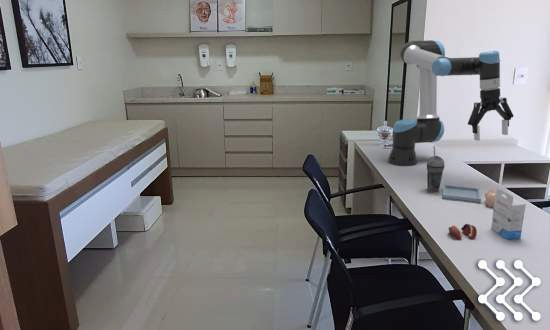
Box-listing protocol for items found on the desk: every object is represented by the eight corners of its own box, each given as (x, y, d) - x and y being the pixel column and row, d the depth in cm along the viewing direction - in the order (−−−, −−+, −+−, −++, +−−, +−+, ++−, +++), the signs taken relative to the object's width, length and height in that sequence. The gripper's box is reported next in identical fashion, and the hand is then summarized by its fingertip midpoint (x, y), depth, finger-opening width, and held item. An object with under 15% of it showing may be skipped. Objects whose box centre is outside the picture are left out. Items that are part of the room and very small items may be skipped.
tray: (443, 188, 172) (443, 184, 172) (478, 192, 167) (479, 188, 166) (442, 198, 160) (442, 194, 159) (480, 203, 154) (481, 199, 154)
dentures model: (447, 221, 129) (470, 220, 129) (445, 233, 130) (468, 232, 130) (455, 229, 123) (480, 228, 124) (453, 241, 125) (478, 240, 125)
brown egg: (484, 201, 157) (485, 189, 155) (498, 202, 155) (500, 190, 153) (485, 207, 151) (487, 194, 149) (500, 208, 149) (502, 196, 147)
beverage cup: (443, 194, 165) (448, 148, 160) (425, 193, 167) (429, 147, 161) (440, 188, 172) (444, 144, 167) (422, 187, 174) (426, 144, 168)
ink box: (521, 238, 124) (528, 195, 120) (506, 239, 124) (513, 196, 120) (504, 227, 133) (510, 186, 129) (490, 228, 132) (495, 187, 128)
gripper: (469, 94, 160) (470, 144, 165) (522, 84, 163) (523, 133, 169) (457, 93, 167) (459, 141, 173) (509, 83, 171) (510, 131, 176)
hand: (491, 137), depth 171 cm, fingers open, 13 cm apart
